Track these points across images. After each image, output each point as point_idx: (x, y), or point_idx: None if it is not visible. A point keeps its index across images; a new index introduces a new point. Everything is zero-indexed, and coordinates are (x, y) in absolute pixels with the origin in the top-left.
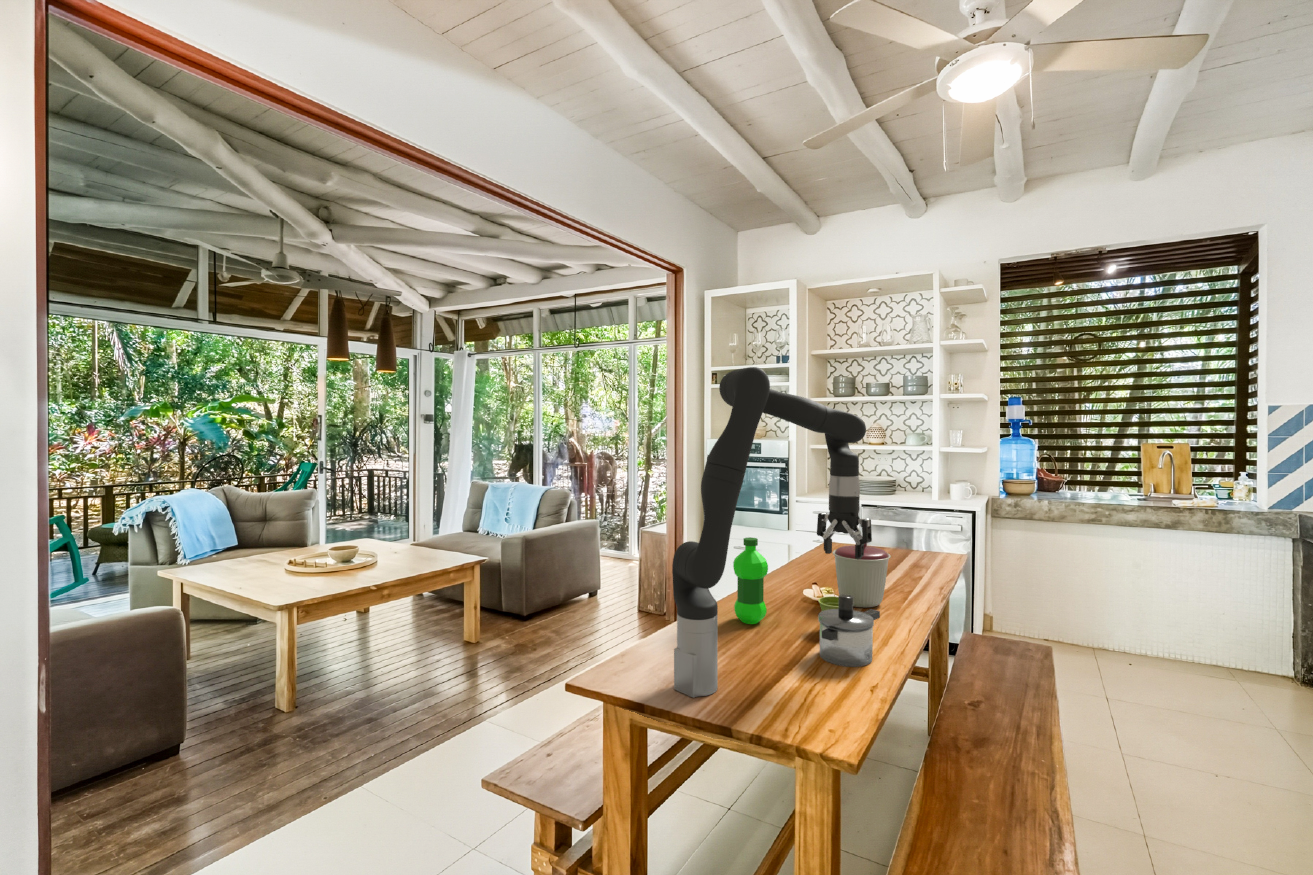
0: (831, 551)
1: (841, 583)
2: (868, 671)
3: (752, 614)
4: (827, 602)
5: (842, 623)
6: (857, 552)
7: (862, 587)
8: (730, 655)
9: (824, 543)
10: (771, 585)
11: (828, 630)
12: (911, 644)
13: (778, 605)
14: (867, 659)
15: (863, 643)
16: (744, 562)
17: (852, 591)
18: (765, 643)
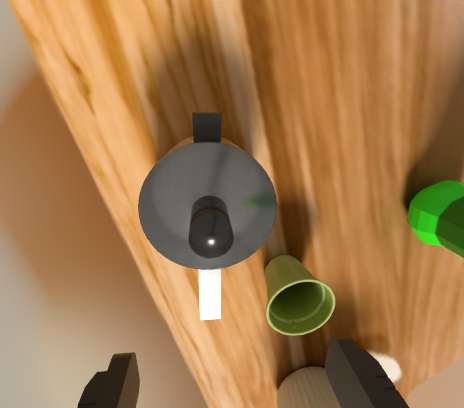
0: (328, 374)
1: None
2: (138, 151)
3: (430, 191)
4: (320, 309)
5: (187, 164)
6: (97, 402)
7: (304, 404)
8: (386, 8)
9: (399, 404)
10: (452, 356)
11: (209, 128)
12: (160, 303)
13: (409, 297)
14: None
15: None
16: None
17: (317, 388)
18: (354, 128)
